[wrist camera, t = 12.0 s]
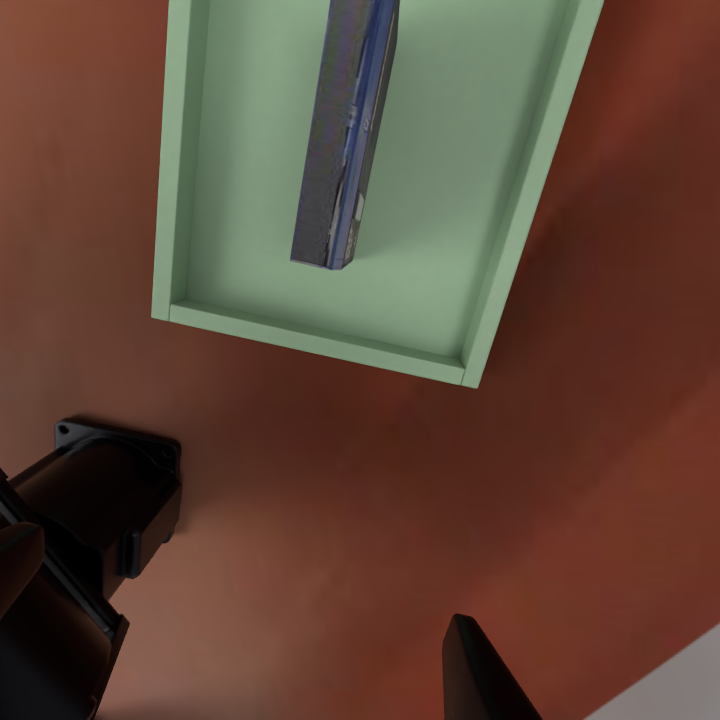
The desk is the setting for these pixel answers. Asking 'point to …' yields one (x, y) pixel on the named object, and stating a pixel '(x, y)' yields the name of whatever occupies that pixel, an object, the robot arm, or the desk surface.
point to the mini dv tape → (344, 129)
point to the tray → (386, 184)
